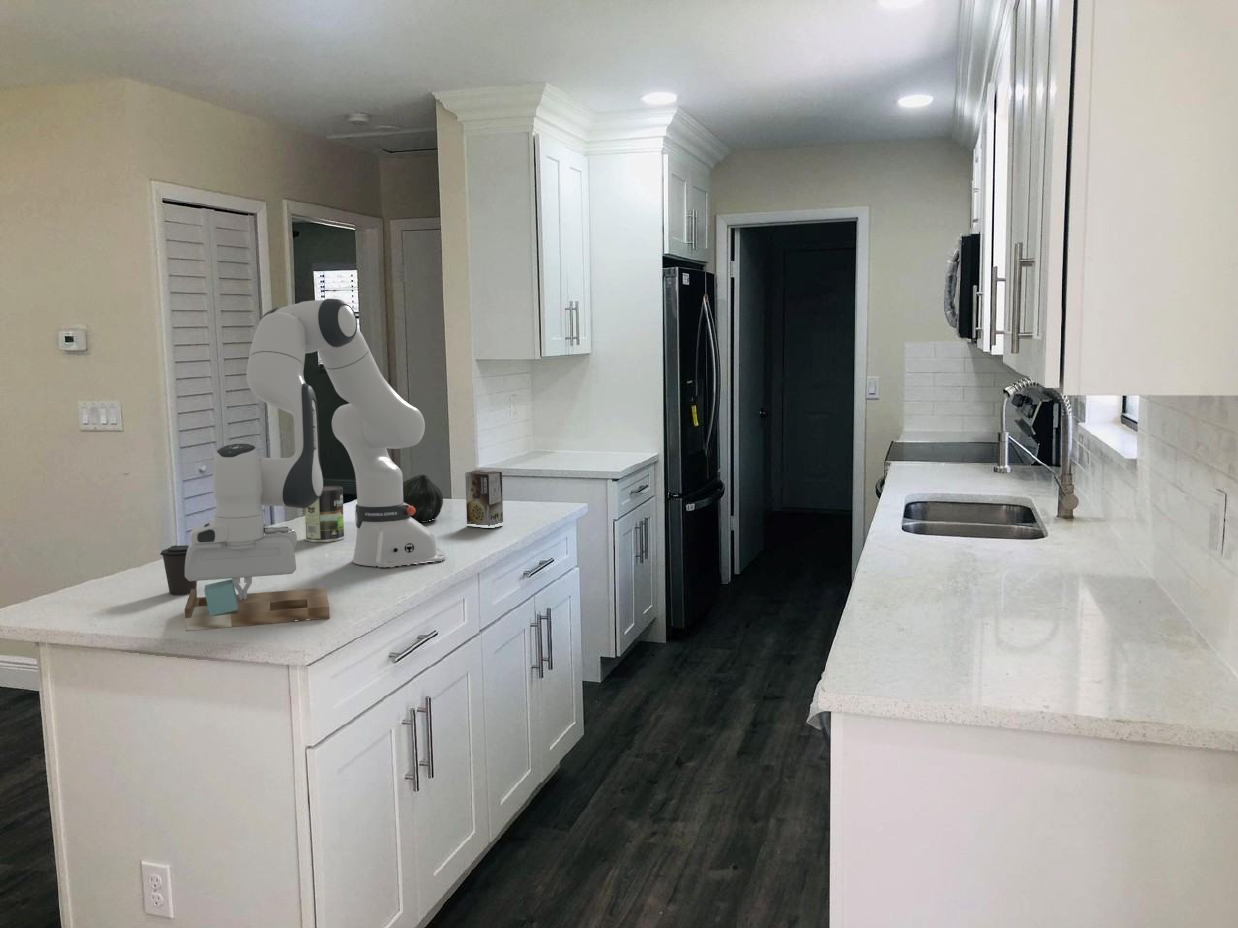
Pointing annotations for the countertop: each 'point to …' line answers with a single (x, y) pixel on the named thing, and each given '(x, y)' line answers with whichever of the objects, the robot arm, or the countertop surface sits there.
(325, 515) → the coffee can
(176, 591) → the coffee cup
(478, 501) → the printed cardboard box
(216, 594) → the teal block
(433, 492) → the squash
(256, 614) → the board
